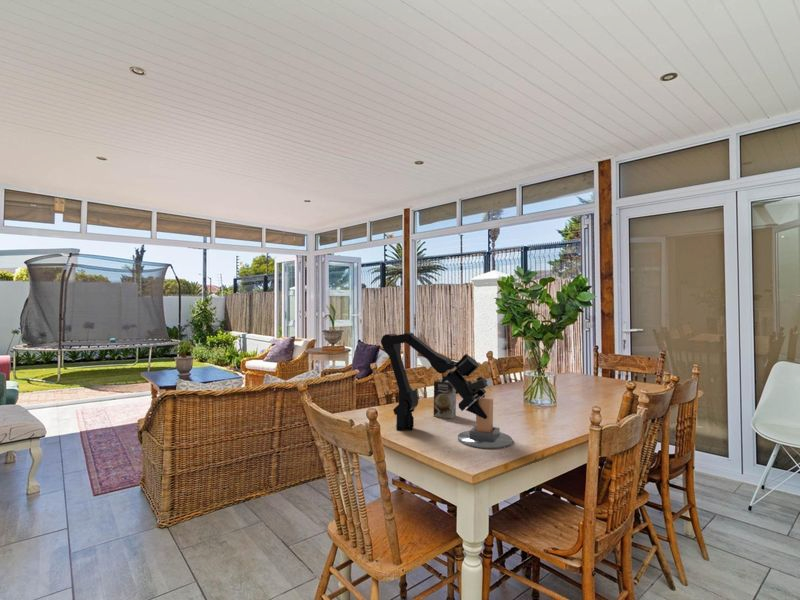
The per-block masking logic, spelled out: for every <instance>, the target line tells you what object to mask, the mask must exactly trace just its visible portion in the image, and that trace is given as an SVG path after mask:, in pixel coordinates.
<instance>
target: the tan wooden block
mask: <svg viewBox="0 0 800 600" xmlns="http://www.w3.org/2000/svg"><path fill="white" fill-rule="evenodd" d="M478 399H479V405H480V407H481V408H482V410H483V411H484V413H485V414H486V416H487V418H486V419H484V418H482V417H480V416H478V415H476V414H475V426H476V431H481V432H489V433H492V432H493V427H494V426H493V425H494V398H489V397H485V398H482V397H480V398H478Z"/></svg>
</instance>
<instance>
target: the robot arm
mask: <svg viewBox="0 0 800 600" xmlns="http://www.w3.org/2000/svg"><path fill="white" fill-rule="evenodd" d="M405 343H406V344H407V345H408V346H410V347H411V348H412V349H414V351H416V352H417V353H419V354H420V355H421V356H422V357H423V358H425V359H426V360H427V361H428V362H429V364H430V366H431V367H432V368H433V369H434V371H436V373H439V374H445V373H447V374H445V375H442V376H441V380H442V383H444V382H446V381H448V382H449V383H450V384H451V386H452V387H453V388H454V389H455V390H456V392H455V393H456V395H459V396H460V398H462V400H461V401H460V402H459V403H458V408H459V410H461V412H463V411H464V410H465V411H466V412H469V413H471V414H474V415H475V416H476V415H478V416H480V417H482V418H484V419H486V418H487V416H486V414H485V413H484V411H483V410H482V408H481V407H480V405H479V399H478V398H480V397H482V398H486V393H487V391H486V390H485V388H487V387H489V385H488V380H487V379H486V378H485V377H483V376H479V377H477V378H476V381H473V382H472V381H471V380H467V379H466V378H465V377H470V376H471V375H472V374H473V373H474V371H476V370H477V369H478V368H479V367H480V365H479V363H478V361H477V360H476V359H475V358H473V357H471V355H468V353H465V354H464V355H463V356H462V357H461V358H460V360H458V361H454V360H452V358H450V357H448V356H446V355H444V354H442V353H440V352H437V351H435V350H434V349H433V348H431V347H430V346H429V345H428V344H426V343H425V342H424V341H422V340H421V339H420V338H419V337H417V336H416V335H415V334H414V333H413V332H405V333H402V334H396V333H388V334H384V335H383V336H382V337H381V339H380V344H381V347H382V349H383V350H384V352H385V353H386V354H387V356H388V357H389V361H390V363H391V368H392V371H393V375H394V378H395V381H396V385H397V389H398V394H397V395H398V396H397V399H398V400H397V401H398V404H397V405H395V407H394V408H393V409H392V410H393V414H394V415H395V416H396V423H395V428H396V430H397V431H413V428H414V424H415V423H414V419H415V418H414V416H413V413H414V411H415V409H416V408H417V406H418V405H419V399H420V397H419V395H418V393H417V392H418V391H417V389H414V390H413V389H412V388H411V385H410V382H409V378H408V376H407V372H406V369H405V366H404V365H405V364H404V362H403V359H402V356H401V355H402V354H401V348H402V344H405ZM451 370H453V371H451Z"/></svg>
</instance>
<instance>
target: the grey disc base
mask: <svg viewBox="0 0 800 600" xmlns="http://www.w3.org/2000/svg"><path fill="white" fill-rule="evenodd" d="M457 441H458V442H459V443H461V445H465V446H467V447H472V448H476V449H485V450H494V449H495V450H497V449H504V447H505V448H507V446H508V447H510V446H512V445H513V438H512V437H511V435H509V434H506V433H503V432H501V429H500V427H494V426H493V432H492V433H489V432H481V431H476V425H474V426H473V427H472V428H471V429H470V430H465V431H462V432H460V433H458V434H457Z"/></svg>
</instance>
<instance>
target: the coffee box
mask: <svg viewBox="0 0 800 600" xmlns="http://www.w3.org/2000/svg"><path fill="white" fill-rule="evenodd" d="M455 392H456V390H455V389H454V388H453V387H452V386H451V384H450V383H449V382H448V381H446V382H444V383H442V379H436V380H434V381H433V417H434V416H435V418H442V417H443V419H451V418H452V419H454V418H455V417H456V416H457V413H456V412H457V411H456V410H457V394H456V393H455ZM453 417H454V418H453Z"/></svg>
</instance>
